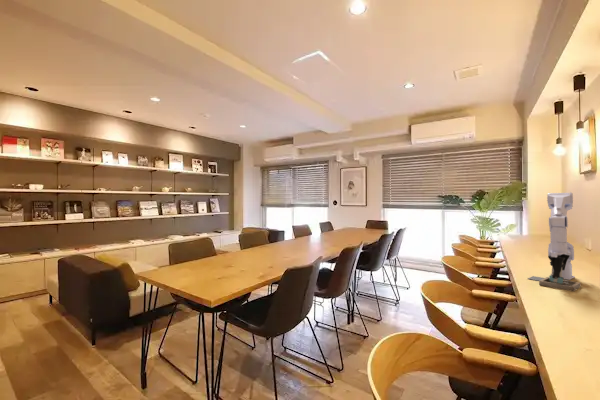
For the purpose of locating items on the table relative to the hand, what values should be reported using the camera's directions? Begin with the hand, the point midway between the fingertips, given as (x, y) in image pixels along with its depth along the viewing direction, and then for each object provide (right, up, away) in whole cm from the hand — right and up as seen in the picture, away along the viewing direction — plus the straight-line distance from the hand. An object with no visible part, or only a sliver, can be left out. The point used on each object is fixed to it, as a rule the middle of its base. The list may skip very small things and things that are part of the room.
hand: (559, 270), depth 132 cm
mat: (0, -7, +11) cm, 13 cm away
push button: (0, -6, 0) cm, 6 cm away
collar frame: (0, -7, 0) cm, 7 cm away
